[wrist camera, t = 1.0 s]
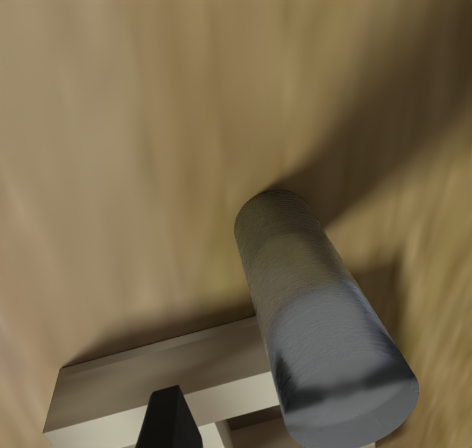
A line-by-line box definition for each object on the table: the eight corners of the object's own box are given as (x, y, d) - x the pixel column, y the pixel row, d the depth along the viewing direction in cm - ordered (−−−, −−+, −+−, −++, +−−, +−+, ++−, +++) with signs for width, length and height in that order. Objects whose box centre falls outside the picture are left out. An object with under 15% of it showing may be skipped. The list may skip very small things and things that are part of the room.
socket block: (337, 294, 18) (364, 345, 16) (359, 456, 24) (382, 513, 22) (59, 369, 18) (42, 433, 16) (151, 513, 24) (149, 577, 22)
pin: (306, 181, 16) (418, 341, 9) (317, 248, 17) (419, 431, 10) (225, 202, 16) (273, 380, 9) (243, 268, 17) (296, 465, 10)
